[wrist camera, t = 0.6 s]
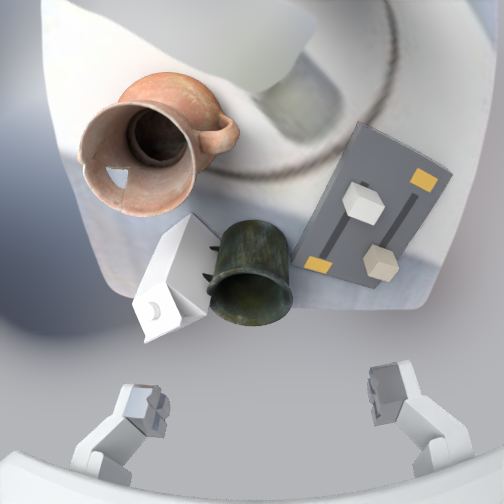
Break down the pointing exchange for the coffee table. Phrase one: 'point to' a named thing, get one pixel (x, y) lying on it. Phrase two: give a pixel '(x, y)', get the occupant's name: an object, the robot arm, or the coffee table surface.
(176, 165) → the ceramic jug
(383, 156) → the switch panel
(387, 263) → the sand slider
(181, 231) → the milk carton
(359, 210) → the off white slider
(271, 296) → the mug
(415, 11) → the coffee table surface
